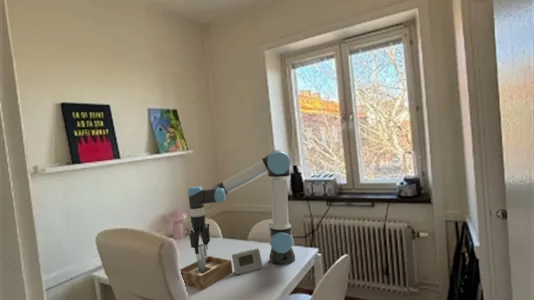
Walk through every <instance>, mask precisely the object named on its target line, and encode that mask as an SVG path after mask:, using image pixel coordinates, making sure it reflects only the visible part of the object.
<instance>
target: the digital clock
mask: <svg viewBox="0 0 534 300" xmlns="http://www.w3.org/2000/svg"><path fill="white" fill-rule="evenodd" d="M231 258H232V263H233V269H234V273H235V274H236V275H241V274H245V273H250V272H253V271H257V270H259V269H263V261H262V257H261V252H260V249H259V247H256V248H251V249H247V250H242V251H238V252H235V253H233V254H232V255H231Z"/></svg>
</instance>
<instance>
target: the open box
mask: <svg viewBox="0 0 534 300" xmlns="http://www.w3.org/2000/svg"><path fill="white" fill-rule="evenodd" d="M205 265H206V271H205V272H199V271H198V260H197V261H195V262H193V263H191V264H189V265H186V266H184V267H183V268H180V269H179V270H180V271H181V275H182V278H183V280H184V283H185V285H184V286H186V287H190V288H194V289H196V290H199V291H203V290H206V289H207V288H209V287H210V286H212V285H214V284H216V283H218V282H219V281H221V280H223V279H224V278H227V277H228V276H230V275H231V274H233V265H232V260H231V259H226V258H221V257H217V256H211V255H208V256H207V257H205Z"/></svg>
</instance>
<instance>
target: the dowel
mask: <svg viewBox="0 0 534 300" xmlns="http://www.w3.org/2000/svg"><path fill="white" fill-rule="evenodd" d="M199 247H200V253H201V260H198V259H197V258H196V260H197V261H198V271H199V272H205V271H206V265H205V253H204V245H203V243H200V244H199Z"/></svg>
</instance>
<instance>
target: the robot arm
mask: <svg viewBox="0 0 534 300" xmlns="http://www.w3.org/2000/svg"><path fill="white" fill-rule="evenodd" d="M290 167H291V159H290V156H289V155H288V154H287V153H286V152H285V151H282V150H278V149H276V150H273V151H271V152H270V153H269V154H267V155H266V156H265V157H263V158H261V160H260V161H258V162H257V163H255V164H253V165H252V166H250V167H248V168H246V169H243V170H242V171H240V172H238V173H236V174H234V175H232V176H230V177H229V178H227V179H226V180H223V181H222V182H219V183H218V184H215V185H213V186H212V188H209V189H203V187H202V186H200V185H198V186H197V185H195V186H191V187H189V188H188V189H187V192H188V193H187V195H188V196H187V197H188V203H189V213H190V214H189V215H190V223H191V229H188V230H187V233H188V235H189V240H190V241H189V242H190V247H191V248H193V249H194V254H195V257H196V260H197V259H198V260H201V253H200V247H199V245H200V244H199V241H200V238H201V241H202V244H203V245H204V253H205V257H207V256H209V254H208V245H209V243H210V241H211V237H210V224H209V223H206V216H205V214H206V213H205V212H206V211H205V205H206V204H215V203H216V204H217V203H218V204H219V203H223V202H225V201H226V195H228V194H229V193H231V192H234V191H235V190H237V189H239V188H241V187H243V186H246V184H249V183H251V182H252V181H255V180H256V179H258V178H260V177H261V176H264V175H266V174H267V175H268V178H269V179H270V180H271V181H270V183H271V212H272V213H271V217H272V221H270V222H269V223H268V228H269V240H270V241H269V244H270V253H269V263H270V264H272V265H277V266H285V265H288V264H291V263H293V262H294V261H295V260H296V255H295V252H294V249H293V242H294V241H293V237H292V236H293V234H292V233H293V232H292V231H293V230H292V224H291V223H290V222H289V206H288V205H289V198H288V197H289V196H288V178H289V177H290V176H291V174H290V173H291V172H290V171H291V170H290ZM204 204H205V205H204ZM198 260H197V261H198Z"/></svg>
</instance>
